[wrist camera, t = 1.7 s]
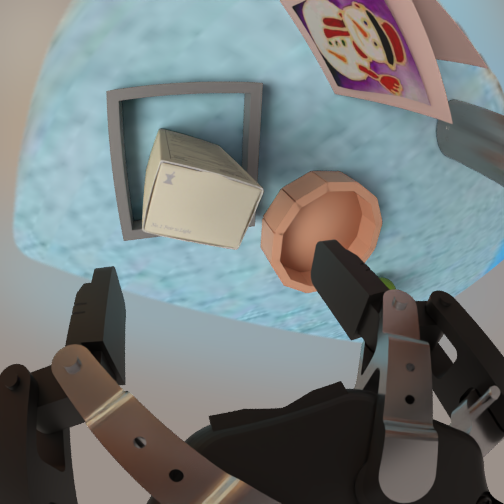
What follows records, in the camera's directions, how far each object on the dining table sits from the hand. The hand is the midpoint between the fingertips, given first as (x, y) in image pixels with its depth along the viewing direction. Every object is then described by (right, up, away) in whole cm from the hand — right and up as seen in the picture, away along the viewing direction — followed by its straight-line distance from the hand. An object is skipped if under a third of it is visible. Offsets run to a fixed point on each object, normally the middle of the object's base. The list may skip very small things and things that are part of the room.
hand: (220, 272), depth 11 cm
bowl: (+9, +4, +23) cm, 25 cm away
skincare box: (-5, +10, +14) cm, 18 cm away
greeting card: (+9, +22, +11) cm, 26 cm away
